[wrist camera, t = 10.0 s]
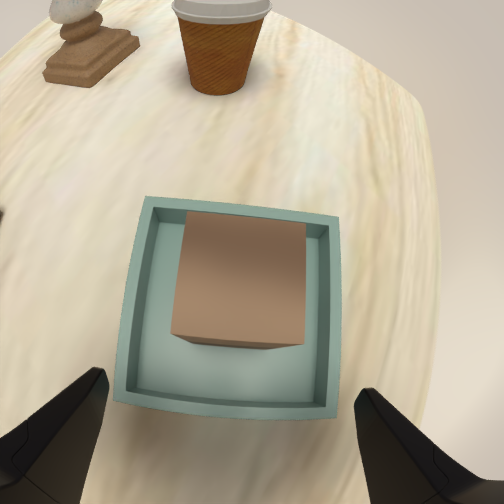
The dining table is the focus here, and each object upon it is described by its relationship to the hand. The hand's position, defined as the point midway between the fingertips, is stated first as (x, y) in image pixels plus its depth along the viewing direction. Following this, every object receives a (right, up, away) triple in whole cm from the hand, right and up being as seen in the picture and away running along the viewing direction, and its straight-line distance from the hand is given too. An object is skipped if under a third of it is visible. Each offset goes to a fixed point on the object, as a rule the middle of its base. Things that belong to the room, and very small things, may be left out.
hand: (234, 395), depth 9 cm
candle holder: (-22, +32, +22) cm, 44 cm away
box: (-1, 0, +12) cm, 12 cm away
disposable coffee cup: (-3, +25, +21) cm, 33 cm away
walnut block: (-1, +1, +11) cm, 11 cm away
